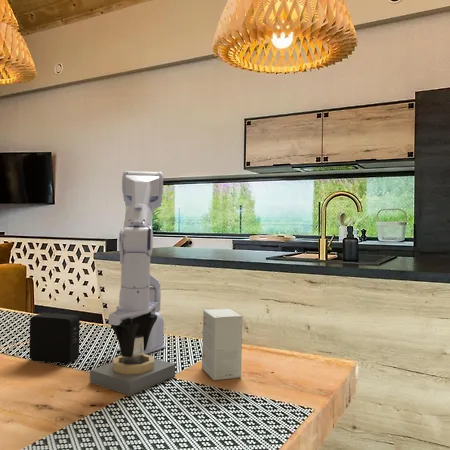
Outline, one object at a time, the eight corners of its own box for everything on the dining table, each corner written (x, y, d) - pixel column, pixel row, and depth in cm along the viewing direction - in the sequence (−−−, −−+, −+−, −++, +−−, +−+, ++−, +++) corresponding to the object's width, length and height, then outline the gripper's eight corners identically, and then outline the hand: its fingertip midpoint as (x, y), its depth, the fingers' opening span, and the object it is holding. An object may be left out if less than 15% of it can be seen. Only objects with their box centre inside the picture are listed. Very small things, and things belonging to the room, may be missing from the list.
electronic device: (69, 364, 102) (70, 319, 102) (29, 360, 104) (29, 316, 104) (79, 358, 106) (79, 315, 106) (40, 354, 108) (40, 312, 108)
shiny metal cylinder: (129, 356, 97) (129, 333, 97) (147, 359, 95) (147, 334, 95) (117, 362, 93) (117, 338, 92) (136, 365, 91) (136, 340, 91)
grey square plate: (136, 365, 102) (137, 347, 102) (175, 376, 96) (175, 357, 96) (89, 382, 92) (90, 362, 91) (129, 395, 85) (130, 374, 85)
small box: (241, 378, 96) (243, 315, 96) (212, 381, 94) (214, 317, 94) (228, 365, 104) (229, 307, 103) (201, 368, 102) (202, 309, 101)
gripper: (138, 280, 102) (137, 341, 102) (96, 289, 88) (94, 360, 89) (166, 282, 99) (165, 345, 99) (127, 293, 86) (125, 365, 86)
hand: (134, 352), depth 94 cm, fingers closed on shiny metal cylinder, 4 cm apart
